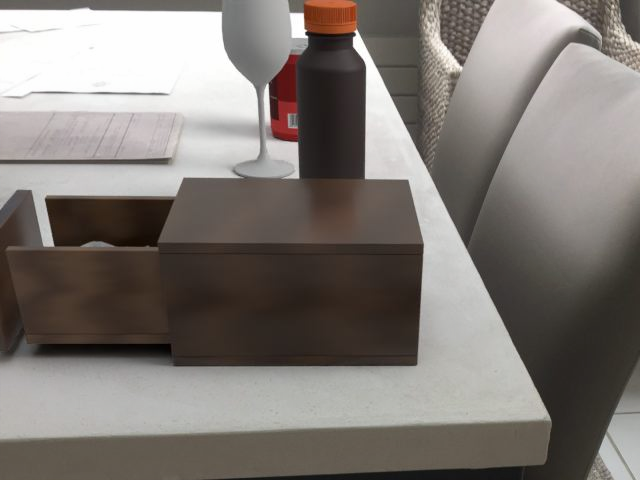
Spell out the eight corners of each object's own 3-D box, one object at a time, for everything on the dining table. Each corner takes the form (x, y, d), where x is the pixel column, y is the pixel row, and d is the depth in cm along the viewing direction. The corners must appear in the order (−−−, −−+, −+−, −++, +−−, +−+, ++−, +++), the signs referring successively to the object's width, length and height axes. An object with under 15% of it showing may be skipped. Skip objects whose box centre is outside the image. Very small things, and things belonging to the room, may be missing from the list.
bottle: (374, 214, 96) (378, 1, 83) (348, 234, 91) (349, 11, 78) (317, 205, 98) (312, -5, 85) (288, 224, 92) (280, 4, 80)
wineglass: (230, 161, 109) (215, -39, 97) (293, 159, 111) (286, -39, 98) (234, 180, 103) (218, -30, 91) (299, 178, 105) (293, -30, 92)
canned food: (341, 135, 120) (341, 44, 113) (296, 145, 116) (292, 51, 109) (304, 123, 124) (302, 35, 118) (259, 133, 120) (254, 41, 113)
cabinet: (173, 366, 68) (157, 242, 62) (195, 287, 79) (183, 177, 73) (417, 365, 69) (424, 243, 63) (403, 288, 80) (408, 179, 75)
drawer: (-101, 352, 66) (-135, 250, 62) (-43, 280, 77) (-68, 188, 72) (226, 351, 68) (217, 251, 63) (239, 280, 78) (233, 191, 74)
